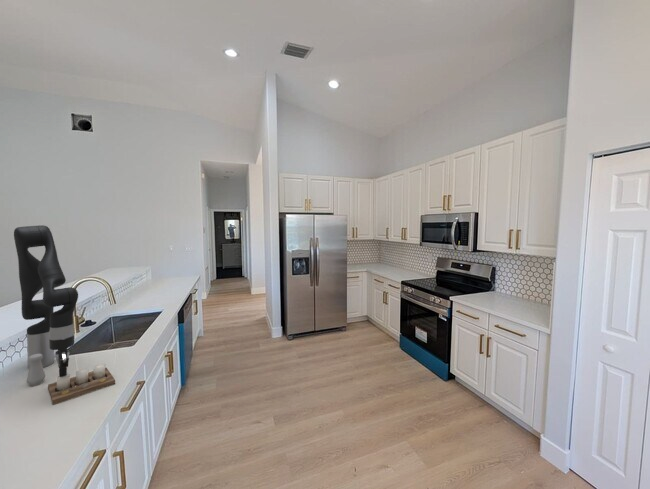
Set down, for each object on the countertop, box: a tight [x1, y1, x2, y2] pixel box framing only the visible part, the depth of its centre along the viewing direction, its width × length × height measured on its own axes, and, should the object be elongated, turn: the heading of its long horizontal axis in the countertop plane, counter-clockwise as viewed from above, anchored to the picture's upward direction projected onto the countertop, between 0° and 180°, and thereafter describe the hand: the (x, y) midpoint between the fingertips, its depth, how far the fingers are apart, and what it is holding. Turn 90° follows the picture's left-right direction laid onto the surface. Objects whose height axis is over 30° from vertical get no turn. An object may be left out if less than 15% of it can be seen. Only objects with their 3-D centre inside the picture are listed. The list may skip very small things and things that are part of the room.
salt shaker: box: [26, 354, 46, 387], centre depth 121 cm, size 6×6×13 cm
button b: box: [75, 368, 89, 385], centre depth 120 cm, size 4×4×5 cm
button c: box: [93, 363, 106, 380], centre depth 124 cm, size 4×4×5 cm
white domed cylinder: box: [56, 373, 71, 391], centre depth 115 cm, size 4×4×5 cm
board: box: [47, 367, 116, 406], centre depth 120 cm, size 16×20×2 cm
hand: (63, 375), depth 115 cm, fingers closed
